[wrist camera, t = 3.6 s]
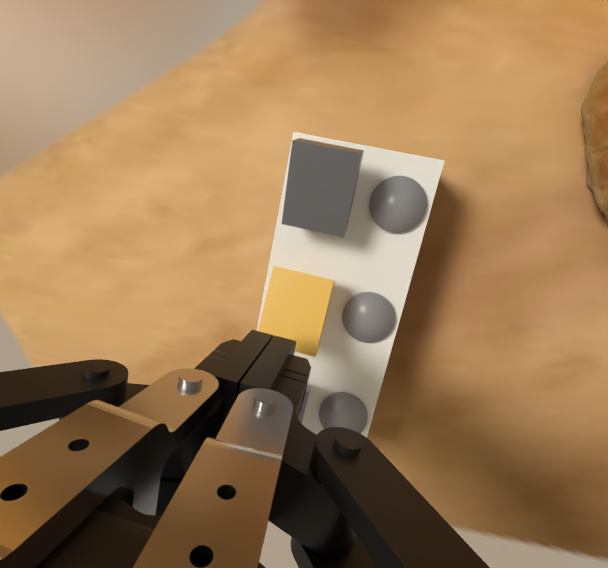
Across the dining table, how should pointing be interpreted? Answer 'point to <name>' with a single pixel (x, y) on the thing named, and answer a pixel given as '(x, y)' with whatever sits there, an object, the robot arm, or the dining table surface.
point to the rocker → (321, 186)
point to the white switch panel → (360, 280)
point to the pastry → (597, 138)
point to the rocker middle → (297, 308)
